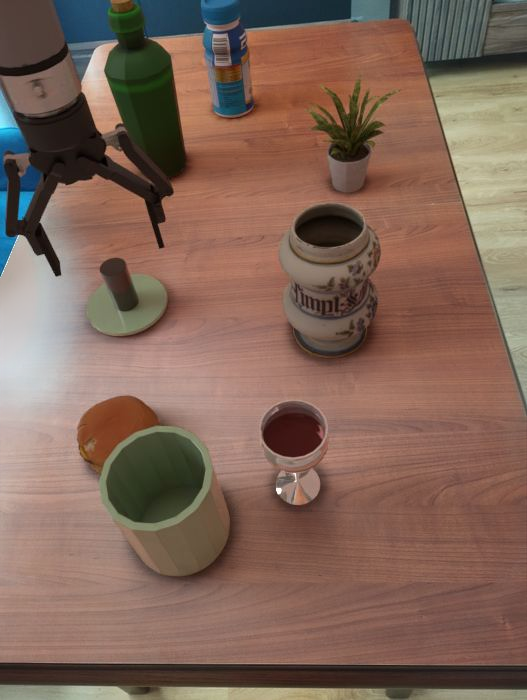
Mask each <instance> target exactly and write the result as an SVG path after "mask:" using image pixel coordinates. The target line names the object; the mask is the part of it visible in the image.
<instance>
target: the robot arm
mask: <svg viewBox="0 0 527 700" xmlns="http://www.w3.org/2000/svg"><path fill="white" fill-rule="evenodd" d="M75 64H76V63H75V62H74V58H73V56H72V53H71V49H70V47H69V46H68V42H67V40H66V38H65V34H64V31H63V28H62V25H61V22H60V20H59V16H58V13H57V9H56V8H55V5H54V2H53V0H0V89H1V91H2V92H1V93H2V95H3V96H4V98H5V100H6V103H7V105H8V107H9V108H10V109H11V110H13V118H14V120H15V123H16V124H17V127H18V129H19V131H20V133H21V136H22V137H23V140H24V142H25V144H26V146H27V149H28V151H27V152H23V153H17V154H16V153H15V152H14V151H12V150H6V151H4V152H3V169H4V172H5V175H6V177H7V186H6V187H7V189H6V201H5V217H4V230H5V235H6V237H8V238H12V239H13V238H16V236H22V237H25V239H26V240H27V242H28V244H29V246H30V248H31V250H32V252H33V254H34V255H36V256H37V257H39V256H43V255H44V257H45V259H46V261H47V263H48V265H49V266H50V269H51V271H52V272H53V274H54V277H56V278H58V277H61V276H62V266H61V261H60V259H59V256H58V255H57V253H56V251H55V249H54V246H53V245H52V242H51V241H50V239H49V237H48V234H47V233H46V230H45V228H44V226H43V224H42V222H41V220H42V217H43V216H44V213H45V212H46V209H47V206H48V204H49V202H50V200H51V197H52V195H54V194H55V192H56V190H57V187H58V185H59V184H64V185H65V186H70V185H73V184H75V183H77V182H83V181H90V180H93V177H95V176H96V175H97V176H98V177H100V178H102V179H104V180H106V181H111V182H113V183H114V184H116V185H118V186H120V187H122V188H123V189H125V190H127V191H129V192H130V193H132V194H134V195H136V196H137V197H139V198H141V199H143V200H144V204H145V207H146V211H147V215H148V217H149V219H150V224H151V227H152V230H153V233H154V237H155V239H156V243H157V246H158V249H159V250H161V249H164V248H166V247H165V243H164V239H163V237H162V233H161V230H160V226H159V225H160V224H163V223H166V219H167V217H166V214H165V209H164V207H163V203H162V201H163V199H164V198H166V197H171V196H173V195H174V192H175V191H174V188H173V185H172V182H171V179H170V177H169V178H168V177H167V176H166V175H165V174H164V173H163V172H162V171H161V170H160V169H159V168H158V167H157V166H156V164H155V163H154V162H153V161H152V160H151V159H150V158H149V157H148V156H147V155H146V154H145V153H144V152H143V151H142V150H141V149H140V148H139V147H138V146H137V145H136V144H135V143H134V142H133V141H132V140H131V138H130V135H129V133H128V131H127V129H126V126H125V125H124V124H123V122H119V123H116V125H115V126H114V129H113V130H111V131H108V132H105V133H101V132H100V130H98V128H97V125H96V123H95V119H94V117H93V114H92V111H91V107H90V106H89V103H88V100H87V97H86V95H85V93H84V92H83V91H82V90H83V86H82V82H81V79H80V76H79V73H78V70H77V68H76V65H75ZM107 147H113V149H114V150H115V151H118V152H119V153H121V152H123V154H124V155H125V157H126V158H127V159H128V160H129V161H130V162H131V163H132V164H133V165H134V166H135V167H136V168H137V170H139V172H141V173H142V175H143V174H144V175H145V176H146V178H147V179H148V180H149V181H148V180H147V179H144V178H143V177H141V176H140V175H138V174H136V173H134V172H132V171H131V170H129V169H128V168H126V167H124V166H122V165H120V164H119V163H117V162H116V161H114V160H113V159H112V158H111V157H110V156H109V155H107V154H106V151H107ZM29 166H31V167H32V168H33V169H35V170H36V171H38V172H40V178H39V180H38V183H37V185H36V188H35V190H34V192H33V195H32V196H31V199H30V202H29V204H28V205H27V209H26V211H25V213H24V216H22V217H21V219H19V211H20V210H19V209H20V200H21V199H20V198H21V184H22V183H21V177H23V176H25V175H26V173H27V168H28V167H29ZM144 175H143V176H144ZM145 176H144V177H145Z"/></svg>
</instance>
